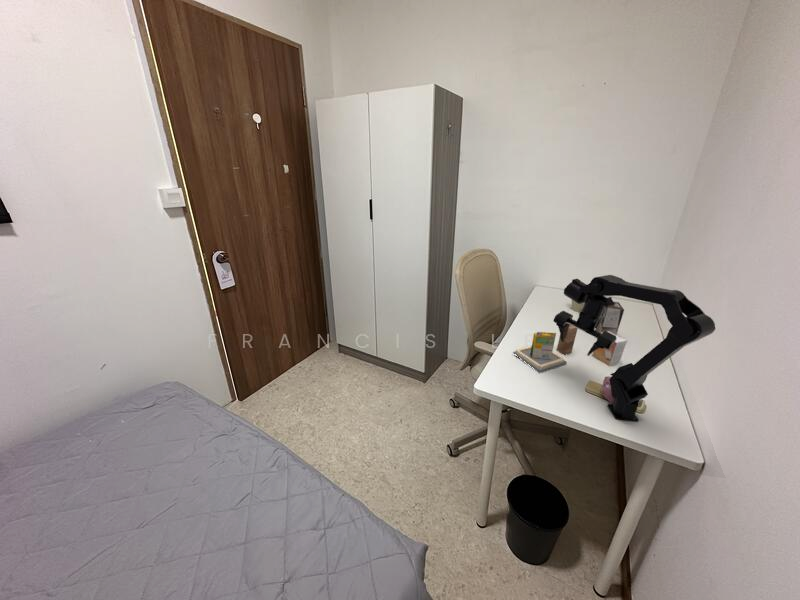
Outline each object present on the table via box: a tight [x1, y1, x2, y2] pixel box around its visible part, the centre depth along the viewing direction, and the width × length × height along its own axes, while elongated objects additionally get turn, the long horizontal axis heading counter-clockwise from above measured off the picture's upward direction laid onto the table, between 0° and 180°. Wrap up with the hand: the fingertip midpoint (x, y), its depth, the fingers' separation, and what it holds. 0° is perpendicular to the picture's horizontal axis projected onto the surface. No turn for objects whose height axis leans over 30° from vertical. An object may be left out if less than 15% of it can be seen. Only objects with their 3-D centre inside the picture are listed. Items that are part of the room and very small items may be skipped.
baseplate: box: [512, 345, 568, 374], centre depth 131 cm, size 14×14×2 cm
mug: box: [571, 299, 585, 313], centre depth 173 cm, size 11×10×12 cm
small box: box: [591, 331, 628, 367], centre depth 130 cm, size 8×6×10 cm
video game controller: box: [600, 375, 615, 404], centre depth 111 cm, size 10×5×7 cm, turn 141°
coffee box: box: [594, 301, 625, 336], centre depth 146 cm, size 9×6×16 cm
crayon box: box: [530, 331, 557, 359], centre depth 129 cm, size 7×3×12 cm, turn 85°
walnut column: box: [556, 325, 579, 356], centre depth 135 cm, size 4×4×12 cm
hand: (575, 348), depth 116 cm, fingers open, 9 cm apart
